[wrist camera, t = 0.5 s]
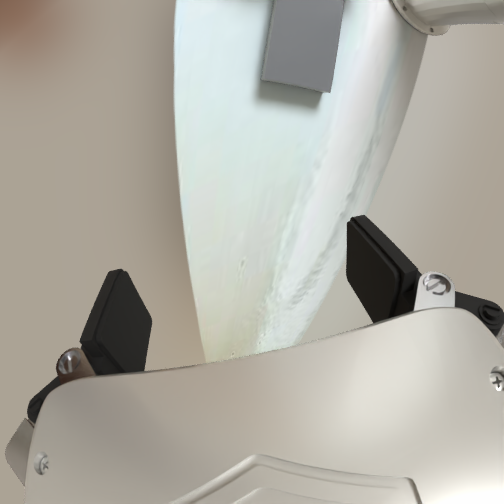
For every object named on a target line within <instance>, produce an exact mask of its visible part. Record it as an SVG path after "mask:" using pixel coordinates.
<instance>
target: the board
mask: <svg viewBox="0 0 504 504" xmlns="http://www.w3.org/2000/svg"><path fill="white" fill-rule="evenodd" d="M343 7H344V0H274V3H273V8H272V14H271V20H270V26H269V32H268V38H267V44H266V50H265V56H264V62H263V68H262V75H261V80H262V81H269V82H275V83H280V84H286V85H291V86H296V87H301V88H305V89H310V90H314V91H318V92H322V93H330V92H331V86H332V80H333V75H334V69H335V62H336V56H337V50H338V43H339V36H340V29H341V22H342V15H343Z"/></svg>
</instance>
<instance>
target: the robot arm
mask: <svg viewBox="0 0 504 504" xmlns="http://www.w3.org/2000/svg"><path fill="white" fill-rule="evenodd" d="M392 1H393V3H394V5H395V7H396V8H397V10H398V11H399V13H400V14H401V15H402V16H403V17H404V19H405V20H406V21H408V22H409V23H410V24H411V25H412V26H413V27H414V28H416V29H417V30H419V31H421V32H423V33H425V34H428V35H442V34H444V33H446V32H447V31H448V30H449V28H450V26H451V25H457V24H504V0H392ZM346 276H347V279H348V282H349V283H350V285H351V287H352V288H353V290H354V291H355V293H356V295H357V296H358V298H359V299H360V301H361V303H362V305H363V306H364V308H365V310H366V311H367V313H368V315H369V316H370V318H371V320H372V322H373V324H370V325H367V326H364V327H360V328H357V329H354V330H350V331H347V332H343V333H340V334H336V335H333V336H329V337H326V338H322V339H318V340H315V341H311V342H306V343H303V344H298V345H294V346H290V347H286V348H282V349H277V350H273V351H268V352H264V353H259V354H254V355H249V356H244V357H239V358H233V359H228V360H222V361H216V362H210V363H204V364H198V365H192V366H184V367H177V368H169V369H161V370H152V371H144V369H145V363H146V356H147V350H148V344H149V338H150V332H151V327H152V318H151V316H150V314H149V312H148V310H147V309H146V307H145V305H144V303H143V301H142V299H141V298H140V296H139V294H138V292H137V290H136V288H135V286H134V284H133V282H132V280H131V278H130V276H129V274H128V273H127V272H126V271H123V270H122V269H117V270H113V271H109V272H108V274H107V276H106V279H105V281H104V283H103V285H102V287H101V290H100V292H99V294H98V297H97V299H96V301H95V303H94V306H93V308H92V310H91V313H90V315H89V318H88V320H87V323H86V325H85V328H84V330H83V333H82V336H81V338H80V343H81V344H82V346H81V349H80V348H71V349H68V350H67V351H65V352H64V353H63V354H62V355H61V356H60V358H59V359H58V361H57V364H56V371H57V375H58V376H57V377H56V378H55V379H54V380H53V381H51V382H50V383H49V384H48V385H47V386H46V387H44V388H43V389H42V390H41V391H40V392H39V393H38V394H36V395H35V396H34V397H33V398H32V399H31V401H30V403H29V405H28V409H27V414H28V418H29V419H28V420H27V419H26V418H24V420H23V422H22V423H21V424H20V426H19V427H18V429H17V431H16V432H15V434H14V435H13V437H12V438H11V440H10V442H9V443H8V445H7V447H6V451H5V456H6V460H7V462H8V464H9V465H10V467H11V468H12V470H13V471H14V472H15V474H16V475H17V477H18V478H19V479H20V481H21V482H22V484H23V485H24V486H25V498H24V504H504V312H503V310H502V309H501V308H500V306H498V305H497V304H496V303H494V302H491V301H488V300H485V299H481V298H477V297H474V296H470V295H467V294H463V293H460V292H456V291H455V286H454V283H453V282H452V280H451V279H450V278H449V277H448V276H446V275H445V274H443V273H440V272H427V273H425V274H423V275H422V274H421V273H420V272H419V271H418V268H416V266H415V265H414V264H413V263H412V262H411V261H410V260H409V259H408V258H407V257H406V256H405V255H404V253H402V251H401V250H400V249H399V248H398V247H397V246H396V245H395V244H394V243H393V242H392V241H391V240H390V239H389V238H388V237H387V236H386V235H385V234H384V233H383V232H382V231H381V230H380V229H379V228H378V227H377V226H376V225H374V223H372V222H371V221H370V220H369V219H368V218H367V217H366V216H365V215H361V216H356V217H352V218H351V219H350V221H349V222H347V265H346Z"/></svg>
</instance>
